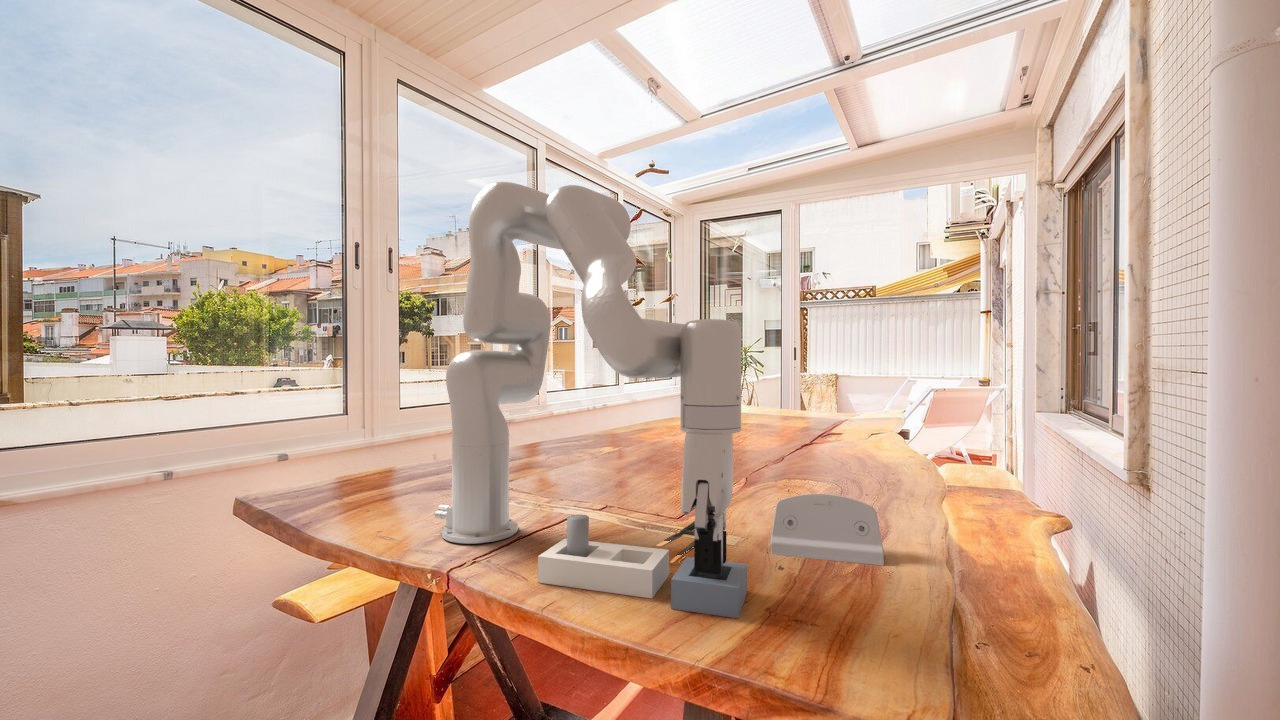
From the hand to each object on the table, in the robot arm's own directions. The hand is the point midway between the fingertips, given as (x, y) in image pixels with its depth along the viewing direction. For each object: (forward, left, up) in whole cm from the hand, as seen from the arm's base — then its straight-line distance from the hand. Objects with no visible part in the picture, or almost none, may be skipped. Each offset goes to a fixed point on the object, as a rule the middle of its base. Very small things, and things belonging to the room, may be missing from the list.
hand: (710, 565), depth 68 cm
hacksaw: (-7, +19, -5) cm, 21 cm away
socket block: (0, 0, -4) cm, 4 cm away
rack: (-15, +2, -4) cm, 16 cm away
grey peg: (0, 0, -4) cm, 4 cm away
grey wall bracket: (+14, +23, -5) cm, 27 cm away
